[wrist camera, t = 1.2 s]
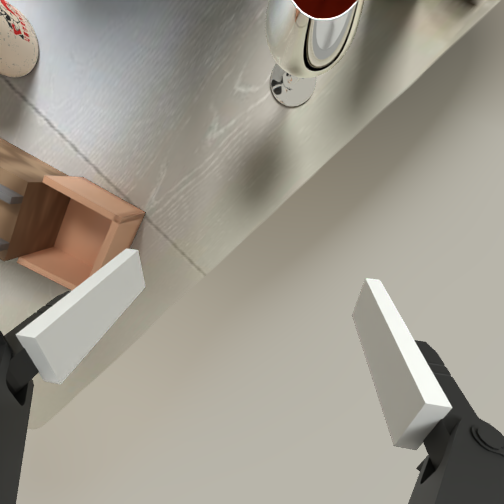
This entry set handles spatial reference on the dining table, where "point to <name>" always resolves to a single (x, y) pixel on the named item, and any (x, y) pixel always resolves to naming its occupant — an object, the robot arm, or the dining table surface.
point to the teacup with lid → (16, 42)
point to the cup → (85, 232)
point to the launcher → (27, 204)
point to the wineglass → (307, 42)
